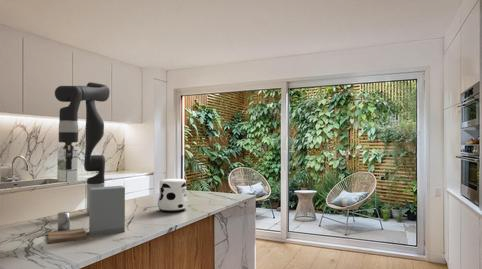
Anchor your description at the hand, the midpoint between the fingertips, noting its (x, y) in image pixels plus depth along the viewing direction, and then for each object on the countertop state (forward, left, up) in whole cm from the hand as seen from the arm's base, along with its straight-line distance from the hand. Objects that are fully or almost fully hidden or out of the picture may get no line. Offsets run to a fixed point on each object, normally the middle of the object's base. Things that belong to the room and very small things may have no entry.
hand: (68, 168), depth 143 cm
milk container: (-30, +57, -29) cm, 71 cm away
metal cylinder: (-13, -1, -29) cm, 32 cm away
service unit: (0, +16, -29) cm, 33 cm away
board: (0, 0, -29) cm, 29 cm away
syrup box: (0, 0, -6) cm, 6 cm away
